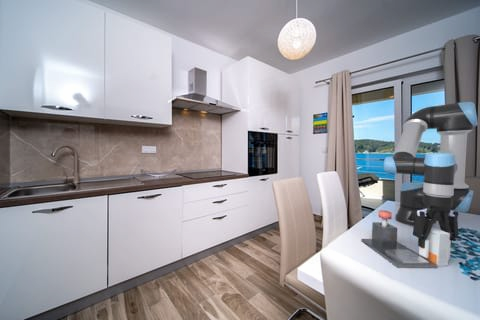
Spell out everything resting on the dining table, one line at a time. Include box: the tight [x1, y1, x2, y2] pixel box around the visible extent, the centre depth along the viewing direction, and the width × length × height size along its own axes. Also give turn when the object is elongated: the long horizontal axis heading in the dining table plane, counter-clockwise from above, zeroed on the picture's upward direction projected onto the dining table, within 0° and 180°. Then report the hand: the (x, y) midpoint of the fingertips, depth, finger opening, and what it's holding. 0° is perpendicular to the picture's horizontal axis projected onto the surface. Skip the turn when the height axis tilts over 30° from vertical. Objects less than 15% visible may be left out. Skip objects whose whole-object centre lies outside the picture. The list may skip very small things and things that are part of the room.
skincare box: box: [421, 226, 450, 267], centre depth 68 cm, size 6×4×12 cm
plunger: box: [378, 209, 393, 226], centre depth 79 cm, size 4×4×10 cm
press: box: [360, 221, 438, 269], centre depth 73 cm, size 14×19×9 cm
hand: (433, 255), depth 68 cm, fingers open, 7 cm apart
